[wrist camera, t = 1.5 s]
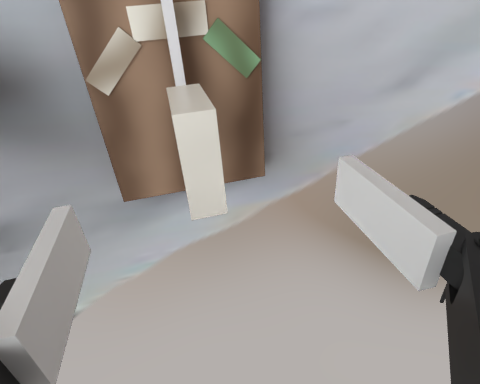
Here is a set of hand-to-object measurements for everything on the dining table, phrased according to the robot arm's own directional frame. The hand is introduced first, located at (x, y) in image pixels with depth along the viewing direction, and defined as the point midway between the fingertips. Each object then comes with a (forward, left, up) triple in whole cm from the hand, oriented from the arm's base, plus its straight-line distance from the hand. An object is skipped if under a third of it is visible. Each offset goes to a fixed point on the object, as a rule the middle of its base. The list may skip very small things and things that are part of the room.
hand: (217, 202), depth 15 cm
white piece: (0, +3, -15) cm, 16 cm away
